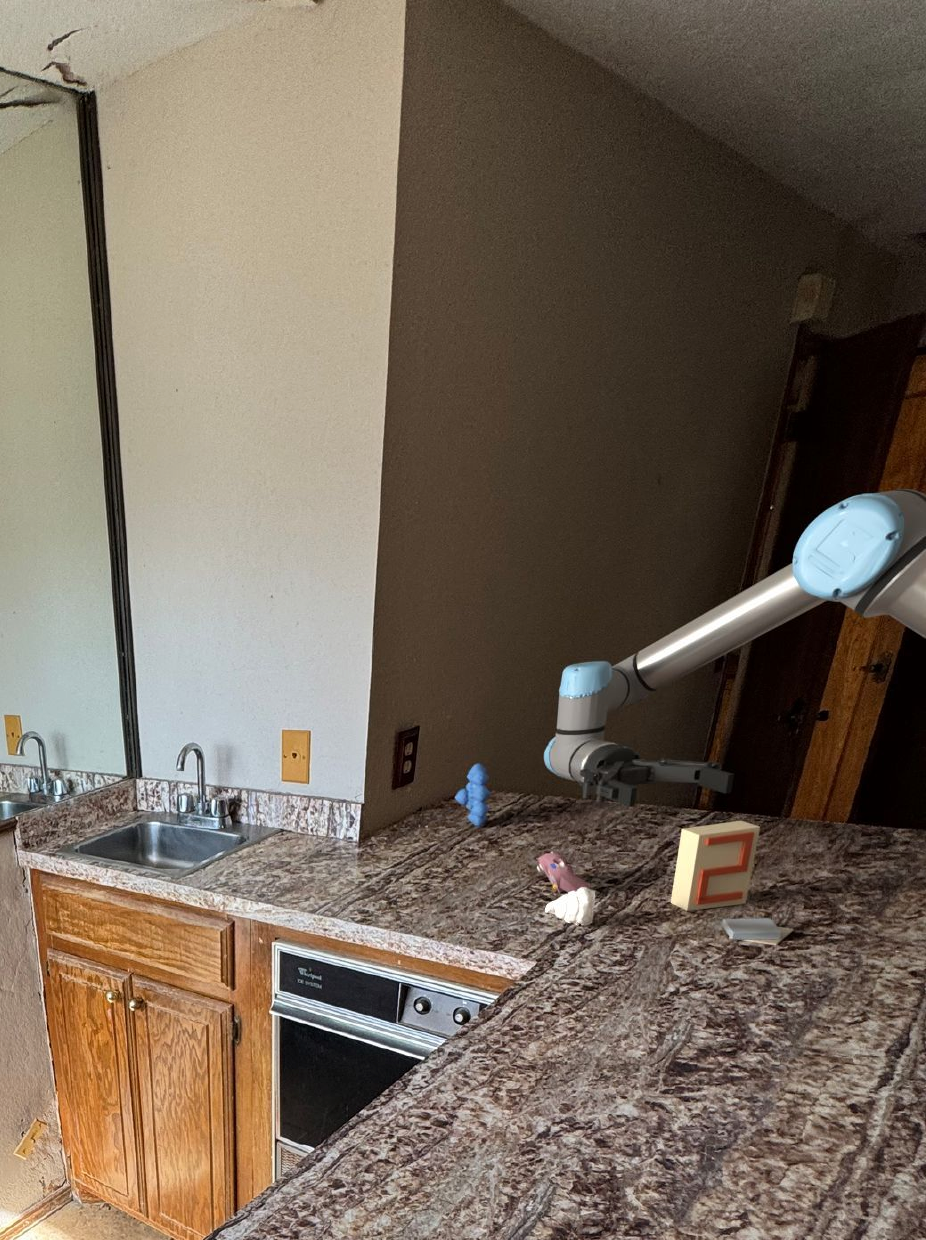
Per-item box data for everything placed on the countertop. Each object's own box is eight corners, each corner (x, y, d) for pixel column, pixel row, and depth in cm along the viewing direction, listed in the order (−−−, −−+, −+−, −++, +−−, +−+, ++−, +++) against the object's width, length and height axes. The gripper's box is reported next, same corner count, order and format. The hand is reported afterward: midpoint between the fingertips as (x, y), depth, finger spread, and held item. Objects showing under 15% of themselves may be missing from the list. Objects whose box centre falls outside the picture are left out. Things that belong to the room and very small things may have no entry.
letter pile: (784, 930, 115) (788, 908, 114) (840, 956, 107) (846, 932, 105) (689, 942, 116) (693, 920, 115) (737, 968, 108) (742, 945, 106)
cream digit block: (727, 895, 128) (741, 820, 124) (748, 904, 124) (763, 827, 120) (670, 902, 129) (681, 828, 124) (689, 912, 125) (701, 836, 120)
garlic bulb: (544, 917, 131) (547, 882, 129) (590, 918, 128) (594, 882, 126) (543, 930, 127) (546, 894, 125) (591, 931, 124) (595, 894, 122)
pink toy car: (546, 889, 146) (528, 854, 144) (574, 875, 144) (557, 839, 142) (563, 908, 137) (544, 871, 135) (593, 893, 135) (575, 856, 133)
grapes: (449, 819, 187) (451, 761, 182) (484, 816, 185) (487, 758, 180) (457, 833, 177) (459, 772, 172) (493, 830, 175) (497, 768, 170)
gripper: (679, 778, 149) (765, 804, 130) (527, 799, 151) (590, 827, 132) (686, 732, 146) (775, 751, 127) (531, 754, 148) (596, 777, 129)
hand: (681, 790), depth 129 cm, fingers open, 13 cm apart
